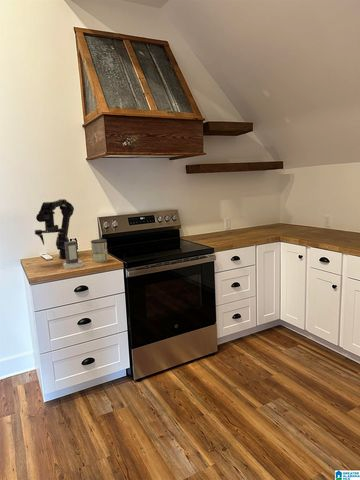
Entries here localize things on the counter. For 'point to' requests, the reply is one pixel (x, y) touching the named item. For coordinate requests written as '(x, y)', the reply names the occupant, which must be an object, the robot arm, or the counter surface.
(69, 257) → the photo frame
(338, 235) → the counter surface
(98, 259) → the coffee can
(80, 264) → the picture stand
